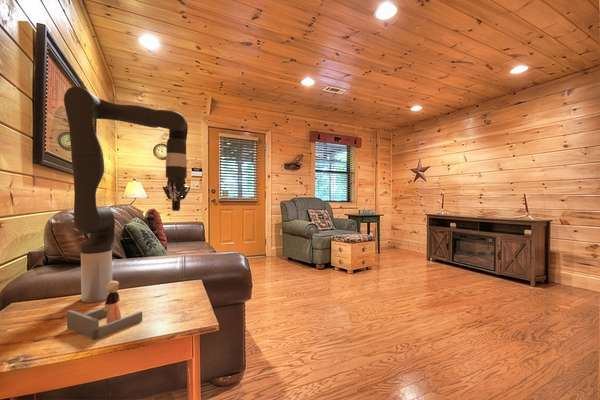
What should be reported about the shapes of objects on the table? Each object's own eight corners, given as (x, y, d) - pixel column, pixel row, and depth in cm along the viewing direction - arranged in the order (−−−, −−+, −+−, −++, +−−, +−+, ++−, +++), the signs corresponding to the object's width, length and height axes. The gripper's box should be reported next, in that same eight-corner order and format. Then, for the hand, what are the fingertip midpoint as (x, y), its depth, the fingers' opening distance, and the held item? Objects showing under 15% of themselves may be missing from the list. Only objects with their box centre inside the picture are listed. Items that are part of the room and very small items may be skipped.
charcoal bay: (67, 328, 80) (66, 310, 80) (115, 311, 92) (114, 296, 92) (94, 339, 74) (94, 320, 74) (142, 320, 85) (142, 303, 85)
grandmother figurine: (117, 328, 80) (116, 283, 80) (101, 330, 79) (100, 285, 79) (124, 317, 88) (123, 276, 87) (110, 319, 86) (109, 277, 86)
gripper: (156, 165, 109) (155, 210, 110) (180, 164, 104) (180, 211, 104) (172, 167, 116) (172, 209, 117) (196, 166, 110) (196, 211, 111)
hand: (176, 210), depth 110 cm, fingers closed
